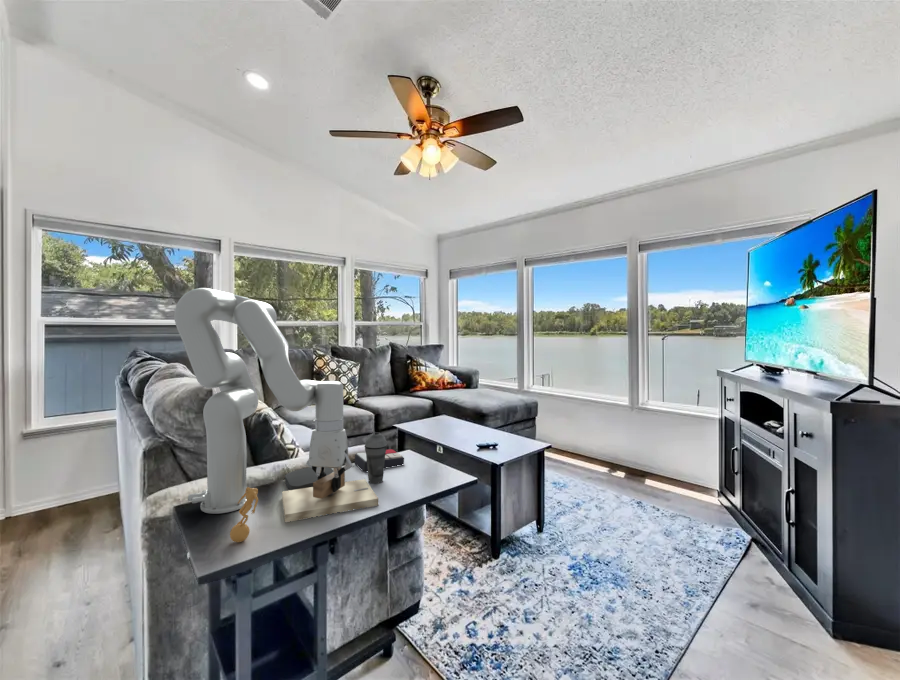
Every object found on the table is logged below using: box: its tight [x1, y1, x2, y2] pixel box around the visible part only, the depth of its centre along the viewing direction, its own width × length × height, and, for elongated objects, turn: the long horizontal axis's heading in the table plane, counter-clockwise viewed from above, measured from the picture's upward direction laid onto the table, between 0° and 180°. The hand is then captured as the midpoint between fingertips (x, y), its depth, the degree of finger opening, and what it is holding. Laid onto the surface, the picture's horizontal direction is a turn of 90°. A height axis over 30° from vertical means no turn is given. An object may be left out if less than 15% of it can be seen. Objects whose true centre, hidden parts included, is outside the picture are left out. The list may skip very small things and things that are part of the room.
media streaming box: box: [284, 467, 334, 491], centre depth 128 cm, size 15×15×3 cm
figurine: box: [229, 486, 259, 543], centre depth 92 cm, size 8×6×12 cm
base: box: [281, 478, 379, 523], centre depth 114 cm, size 24×18×2 cm
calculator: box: [354, 448, 405, 473], centre depth 146 cm, size 11×4×15 cm
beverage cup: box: [363, 419, 388, 485], centre depth 129 cm, size 7×7×20 cm
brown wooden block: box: [313, 471, 346, 499], centre depth 113 cm, size 10×3×5 cm, turn 158°
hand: (329, 488), depth 113 cm, fingers closed on brown wooden block, 3 cm apart
